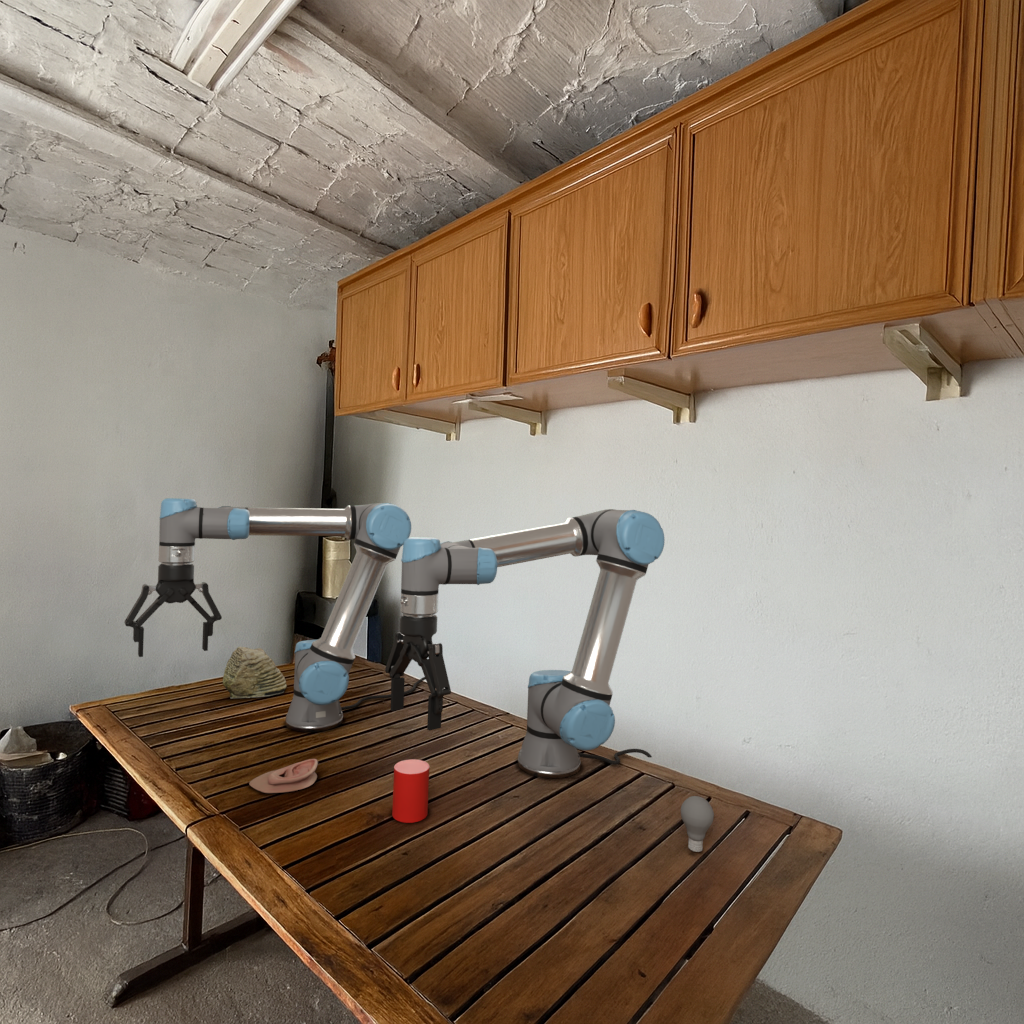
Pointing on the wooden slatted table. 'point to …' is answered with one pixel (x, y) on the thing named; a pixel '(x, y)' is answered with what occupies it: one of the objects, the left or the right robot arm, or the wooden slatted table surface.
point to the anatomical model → (287, 778)
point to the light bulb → (696, 820)
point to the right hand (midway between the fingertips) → (414, 718)
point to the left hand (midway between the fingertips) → (173, 652)
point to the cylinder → (410, 791)
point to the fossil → (252, 674)
